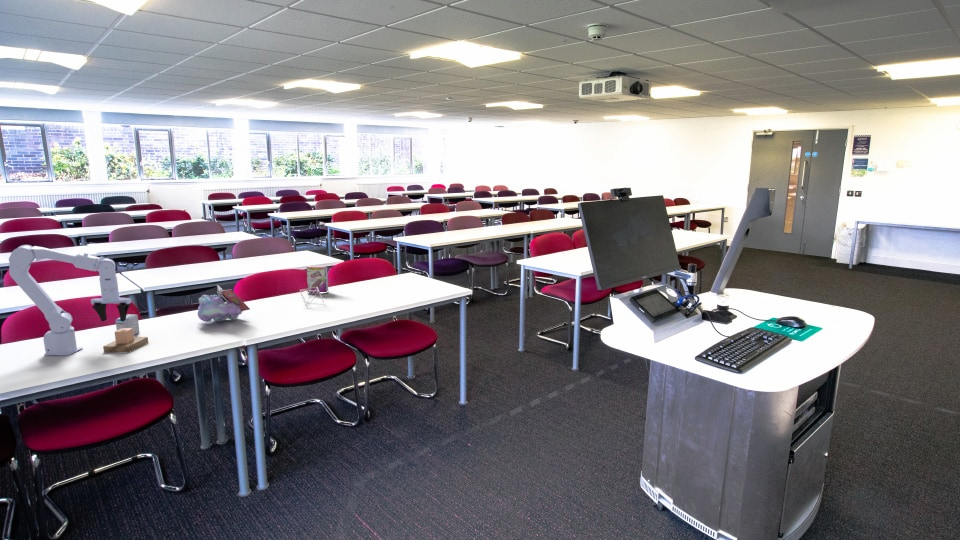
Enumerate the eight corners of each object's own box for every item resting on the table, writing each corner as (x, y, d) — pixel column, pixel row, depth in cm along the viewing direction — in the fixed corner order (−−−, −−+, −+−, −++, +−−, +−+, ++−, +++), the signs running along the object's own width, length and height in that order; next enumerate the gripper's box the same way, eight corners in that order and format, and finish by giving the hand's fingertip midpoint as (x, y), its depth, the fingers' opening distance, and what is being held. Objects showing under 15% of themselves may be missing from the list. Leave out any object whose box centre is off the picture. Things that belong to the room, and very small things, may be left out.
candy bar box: (307, 294, 299) (305, 267, 296) (309, 292, 304) (308, 265, 301) (326, 294, 300) (325, 267, 297) (328, 292, 305) (327, 265, 302)
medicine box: (130, 332, 227) (127, 314, 225) (140, 332, 226) (137, 314, 225) (117, 338, 219) (114, 319, 217) (127, 338, 219) (124, 319, 217)
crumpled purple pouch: (196, 320, 246) (193, 284, 243) (244, 313, 258) (242, 279, 254) (200, 331, 230) (197, 292, 226) (252, 323, 241) (249, 287, 238)
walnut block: (104, 353, 202) (103, 346, 202) (124, 343, 214) (124, 336, 213) (129, 353, 202) (128, 346, 202) (148, 343, 214) (147, 336, 213)
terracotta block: (116, 343, 205) (114, 331, 204) (123, 339, 210) (121, 328, 209) (127, 343, 205) (125, 331, 204) (134, 339, 210) (133, 328, 209)
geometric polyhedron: (324, 301, 283) (323, 286, 281) (325, 306, 273) (324, 290, 271) (300, 303, 279) (299, 287, 277) (300, 308, 269) (299, 292, 267)
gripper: (83, 290, 202) (88, 323, 204) (121, 290, 203) (126, 323, 205) (95, 286, 209) (100, 318, 211) (132, 286, 210) (136, 318, 212)
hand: (113, 320), depth 209 cm, fingers open, 7 cm apart
